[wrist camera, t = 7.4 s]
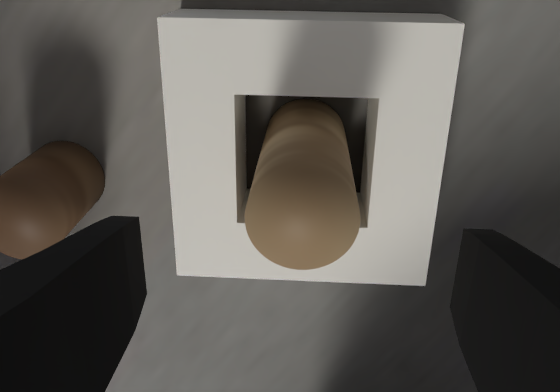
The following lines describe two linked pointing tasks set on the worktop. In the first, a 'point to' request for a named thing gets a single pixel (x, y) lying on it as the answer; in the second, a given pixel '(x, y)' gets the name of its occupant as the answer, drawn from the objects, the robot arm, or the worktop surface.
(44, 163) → the walnut dowel
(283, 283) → the worktop surface
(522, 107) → the worktop surface
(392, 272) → the socket block
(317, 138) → the oak dowel
